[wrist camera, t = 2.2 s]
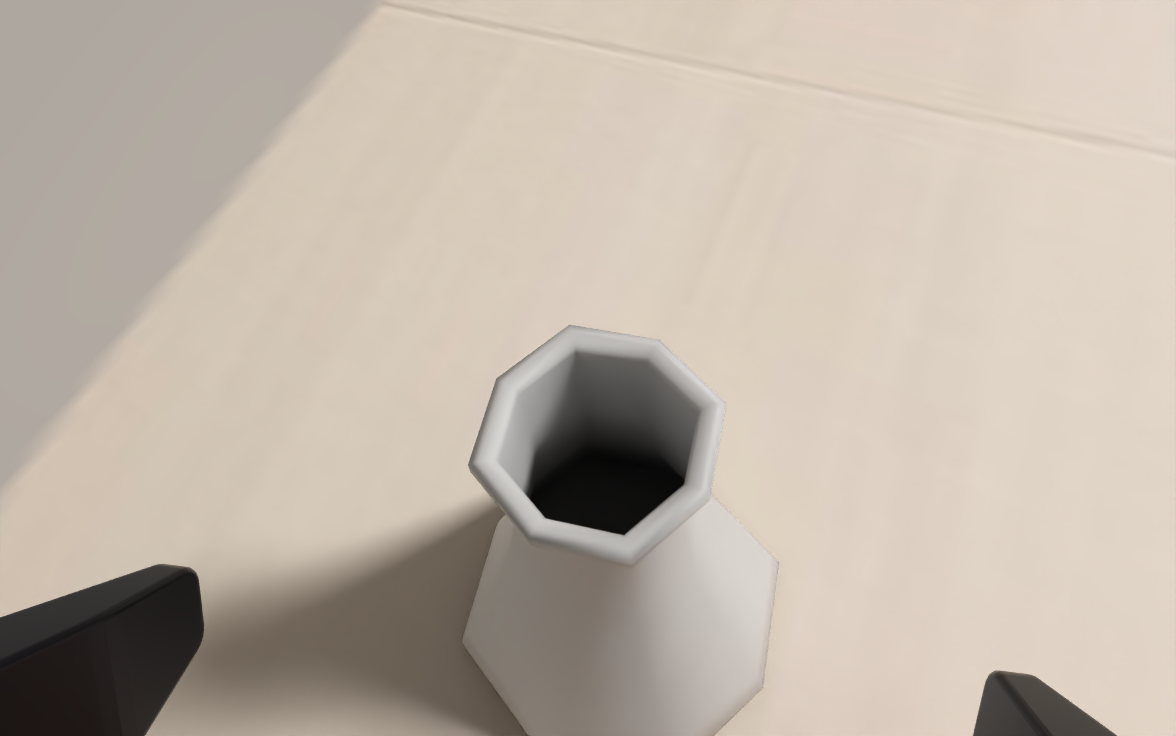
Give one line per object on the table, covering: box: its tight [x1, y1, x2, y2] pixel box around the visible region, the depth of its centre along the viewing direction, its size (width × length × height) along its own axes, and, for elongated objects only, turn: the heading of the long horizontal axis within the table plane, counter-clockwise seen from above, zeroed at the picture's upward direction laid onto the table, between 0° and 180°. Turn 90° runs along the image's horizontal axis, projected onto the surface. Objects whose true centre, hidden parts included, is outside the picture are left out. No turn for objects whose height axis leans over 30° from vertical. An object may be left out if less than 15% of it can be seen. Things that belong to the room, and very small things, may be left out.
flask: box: [461, 325, 779, 736], centre depth 14 cm, size 7×7×10 cm
